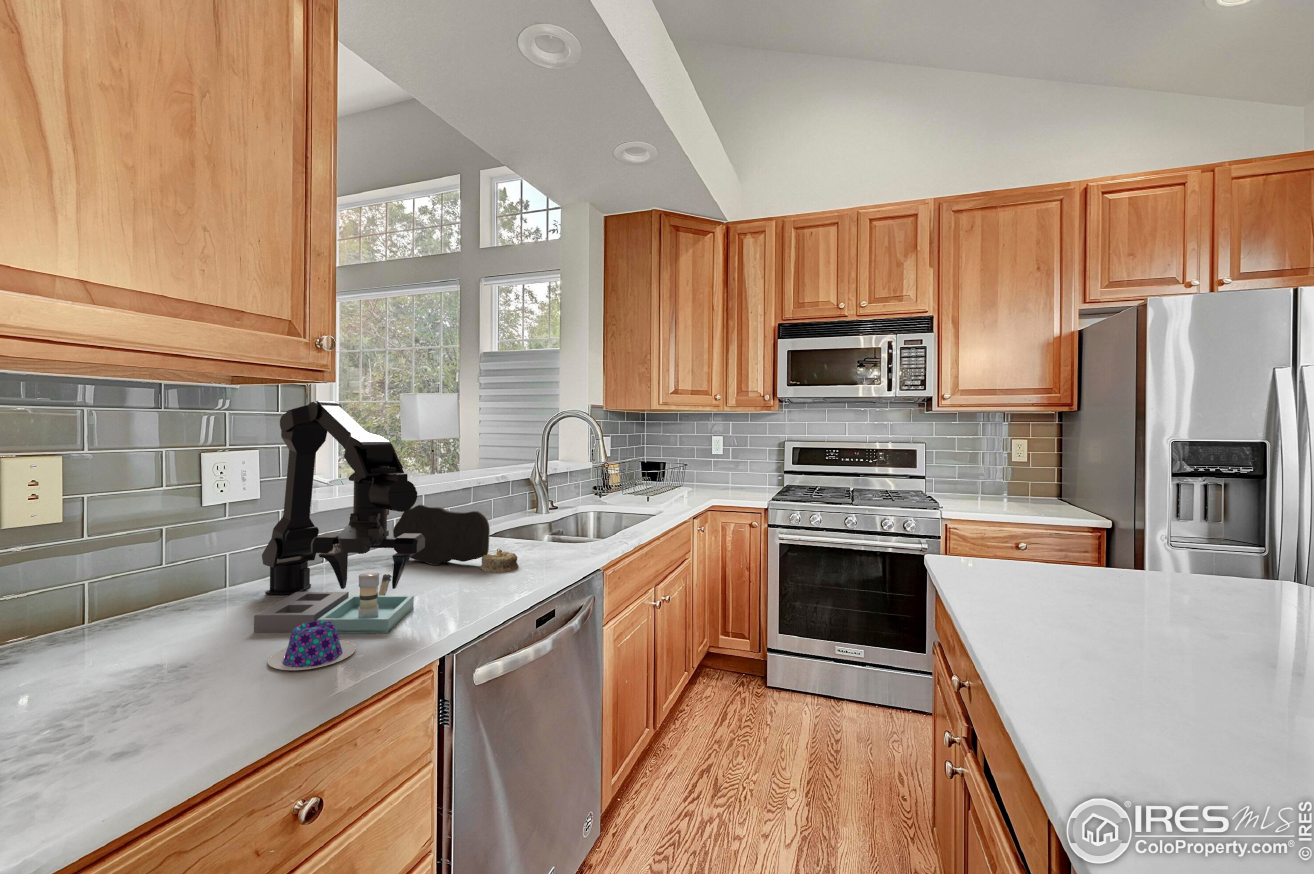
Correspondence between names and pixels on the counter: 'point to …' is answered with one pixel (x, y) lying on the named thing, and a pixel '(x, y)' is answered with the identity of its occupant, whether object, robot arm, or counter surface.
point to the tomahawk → (384, 584)
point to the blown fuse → (368, 595)
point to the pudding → (312, 647)
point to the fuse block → (297, 610)
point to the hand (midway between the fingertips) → (369, 588)
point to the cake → (499, 562)
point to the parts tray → (388, 618)
